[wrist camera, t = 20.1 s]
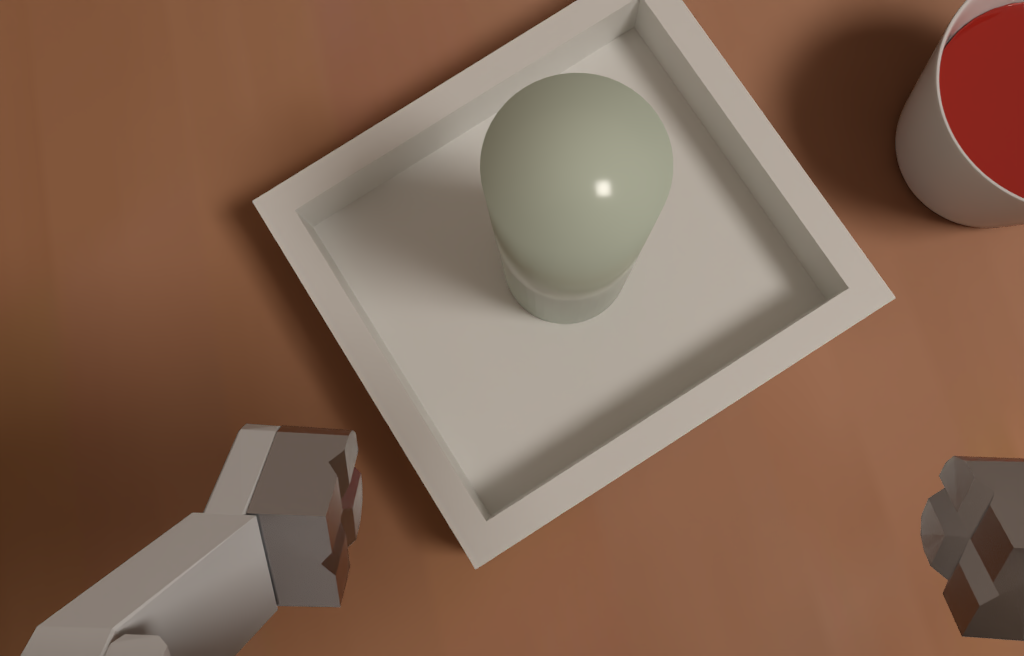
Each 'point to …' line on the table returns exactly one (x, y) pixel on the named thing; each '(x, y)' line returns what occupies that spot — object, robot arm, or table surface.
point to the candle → (970, 119)
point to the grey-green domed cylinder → (573, 191)
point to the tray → (579, 346)
